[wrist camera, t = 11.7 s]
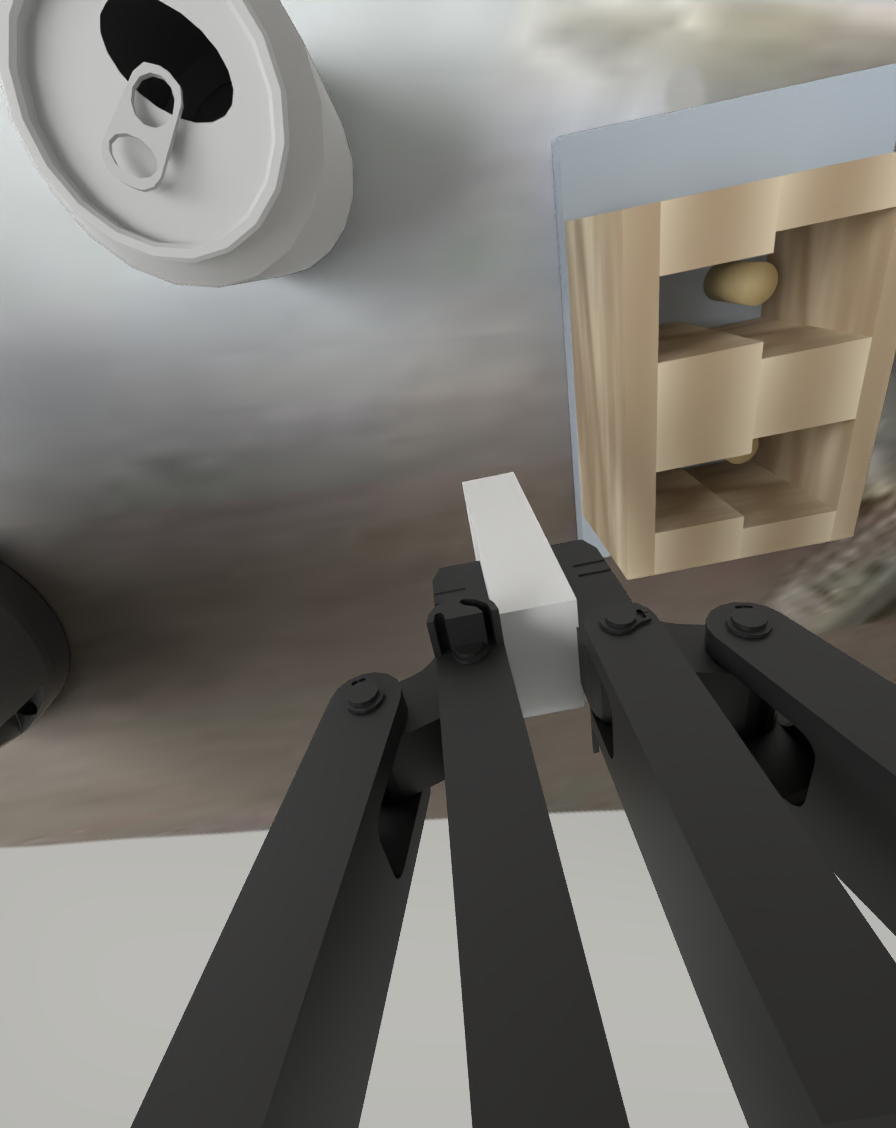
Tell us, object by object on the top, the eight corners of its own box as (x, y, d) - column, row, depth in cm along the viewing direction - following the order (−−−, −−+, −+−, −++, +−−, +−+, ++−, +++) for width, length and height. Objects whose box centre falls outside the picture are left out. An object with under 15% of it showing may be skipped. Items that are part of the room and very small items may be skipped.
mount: (578, 551, 32) (600, 588, 29) (551, 141, 22) (579, 120, 19) (809, 506, 32) (861, 538, 28) (887, 69, 22) (983, 32, 18)
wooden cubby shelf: (582, 514, 30) (627, 579, 24) (564, 221, 23) (622, 209, 17) (761, 479, 30) (852, 536, 24) (799, 171, 23) (943, 141, 17)
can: (386, 135, 22) (371, 27, 12) (312, 309, 25) (247, 348, 15) (204, 1, 20) (-20, -282, 9) (146, 211, 23) (-71, 174, 12)
